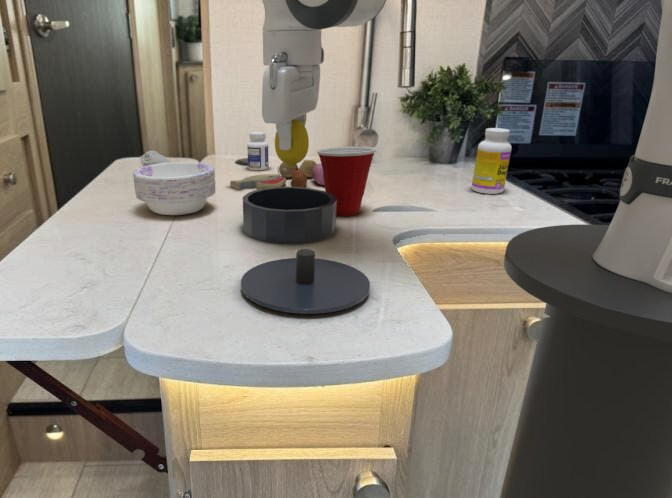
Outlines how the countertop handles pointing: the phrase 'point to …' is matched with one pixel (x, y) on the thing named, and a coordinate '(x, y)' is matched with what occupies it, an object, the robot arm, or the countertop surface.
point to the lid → (305, 284)
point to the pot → (289, 214)
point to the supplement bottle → (492, 162)
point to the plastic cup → (346, 175)
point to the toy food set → (274, 180)
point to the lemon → (294, 145)
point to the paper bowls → (175, 186)
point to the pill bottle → (257, 151)
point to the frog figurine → (152, 158)
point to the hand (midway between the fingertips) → (292, 145)
